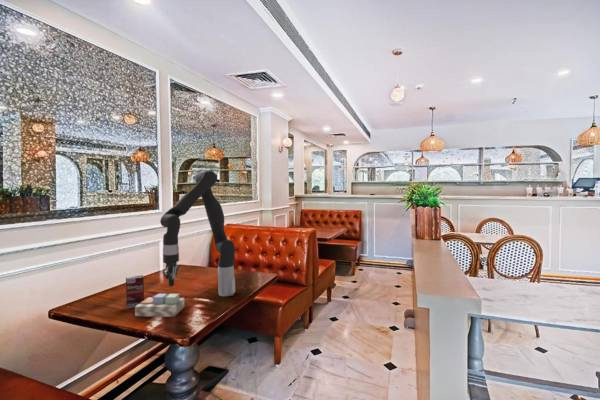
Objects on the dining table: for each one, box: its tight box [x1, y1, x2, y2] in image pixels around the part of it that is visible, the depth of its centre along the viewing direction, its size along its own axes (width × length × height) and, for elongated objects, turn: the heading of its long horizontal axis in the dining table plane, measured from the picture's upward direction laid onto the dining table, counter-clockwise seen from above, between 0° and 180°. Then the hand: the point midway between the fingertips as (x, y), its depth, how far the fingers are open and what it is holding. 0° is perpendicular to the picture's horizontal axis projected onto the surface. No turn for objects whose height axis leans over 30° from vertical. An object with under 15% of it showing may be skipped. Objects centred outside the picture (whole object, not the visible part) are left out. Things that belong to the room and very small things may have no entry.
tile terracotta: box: [141, 298, 153, 304], centre depth 157 cm, size 5×5×4 cm
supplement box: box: [125, 274, 145, 309], centre depth 164 cm, size 9×5×16 cm, turn 121°
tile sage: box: [165, 293, 180, 305], centre depth 156 cm, size 5×5×4 cm
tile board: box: [134, 297, 185, 318], centre depth 157 cm, size 20×12×5 cm, turn 87°
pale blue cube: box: [152, 293, 168, 304], centre depth 157 cm, size 5×5×4 cm
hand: (171, 285), depth 156 cm, fingers closed
